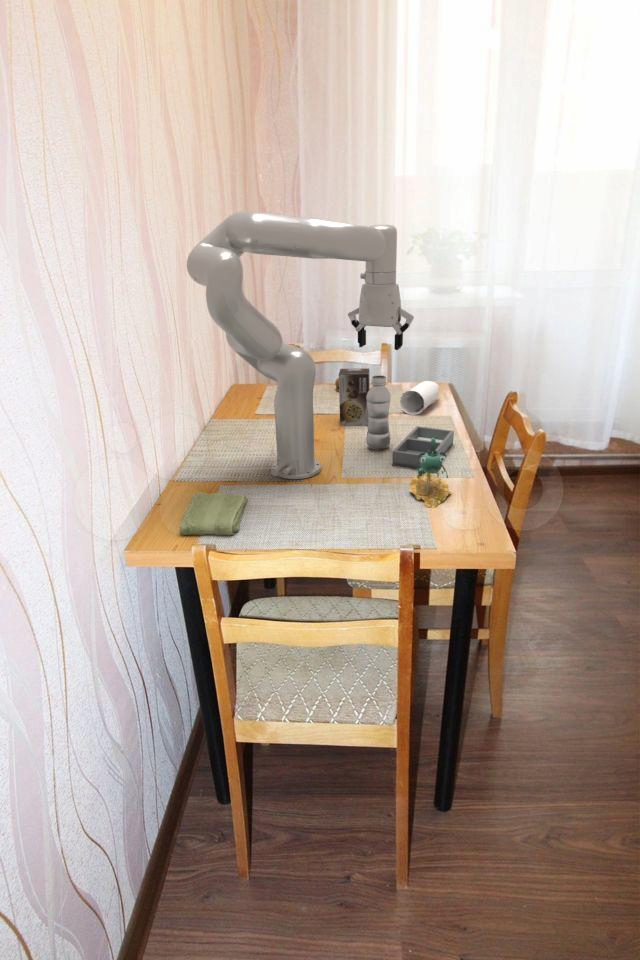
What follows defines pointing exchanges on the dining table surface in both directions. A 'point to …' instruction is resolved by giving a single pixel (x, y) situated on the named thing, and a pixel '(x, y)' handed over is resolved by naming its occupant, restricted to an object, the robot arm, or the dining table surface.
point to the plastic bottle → (378, 414)
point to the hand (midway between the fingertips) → (379, 347)
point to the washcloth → (213, 514)
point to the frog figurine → (430, 478)
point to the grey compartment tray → (421, 446)
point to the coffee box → (353, 396)
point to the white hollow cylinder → (419, 397)
